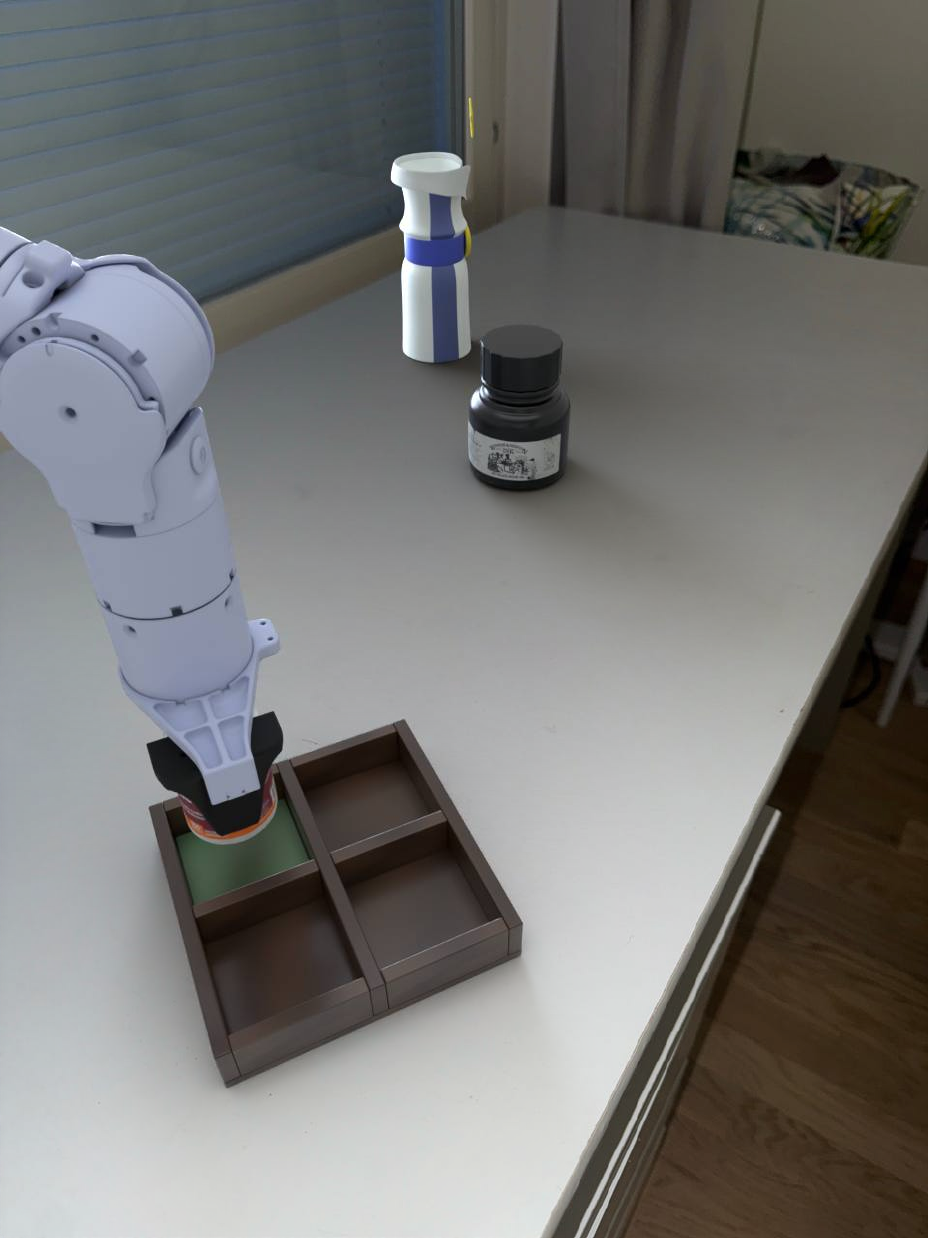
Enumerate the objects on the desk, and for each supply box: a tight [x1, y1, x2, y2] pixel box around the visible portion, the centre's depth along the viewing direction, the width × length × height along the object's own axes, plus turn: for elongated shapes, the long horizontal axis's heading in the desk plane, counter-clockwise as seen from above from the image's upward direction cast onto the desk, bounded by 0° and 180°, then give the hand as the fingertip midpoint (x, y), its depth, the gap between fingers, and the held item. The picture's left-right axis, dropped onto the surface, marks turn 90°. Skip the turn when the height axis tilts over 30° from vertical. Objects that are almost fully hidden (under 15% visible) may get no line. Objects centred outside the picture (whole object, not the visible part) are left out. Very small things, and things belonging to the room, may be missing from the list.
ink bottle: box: [467, 323, 572, 490], centre depth 80 cm, size 10×9×12 cm
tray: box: [148, 718, 524, 1089], centre depth 49 cm, size 15×15×3 cm
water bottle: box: [390, 97, 475, 364], centre depth 96 cm, size 8×9×25 cm
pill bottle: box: [162, 707, 277, 845], centre depth 46 cm, size 5×5×8 cm
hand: (225, 787), depth 47 cm, fingers closed on pill bottle, 5 cm apart
